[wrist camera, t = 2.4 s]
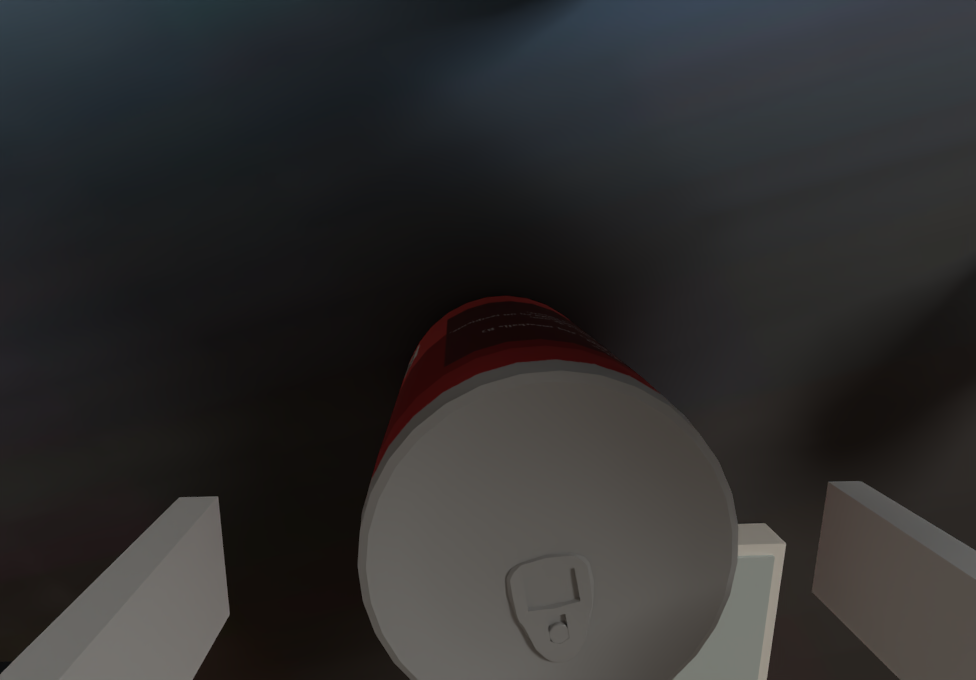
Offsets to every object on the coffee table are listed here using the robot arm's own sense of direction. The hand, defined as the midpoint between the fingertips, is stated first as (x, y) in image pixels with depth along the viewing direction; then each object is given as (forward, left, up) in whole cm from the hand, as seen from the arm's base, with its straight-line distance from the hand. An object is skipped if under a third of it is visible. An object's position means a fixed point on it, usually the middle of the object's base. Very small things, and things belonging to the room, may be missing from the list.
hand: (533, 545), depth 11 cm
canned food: (0, 0, -10) cm, 10 cm away
